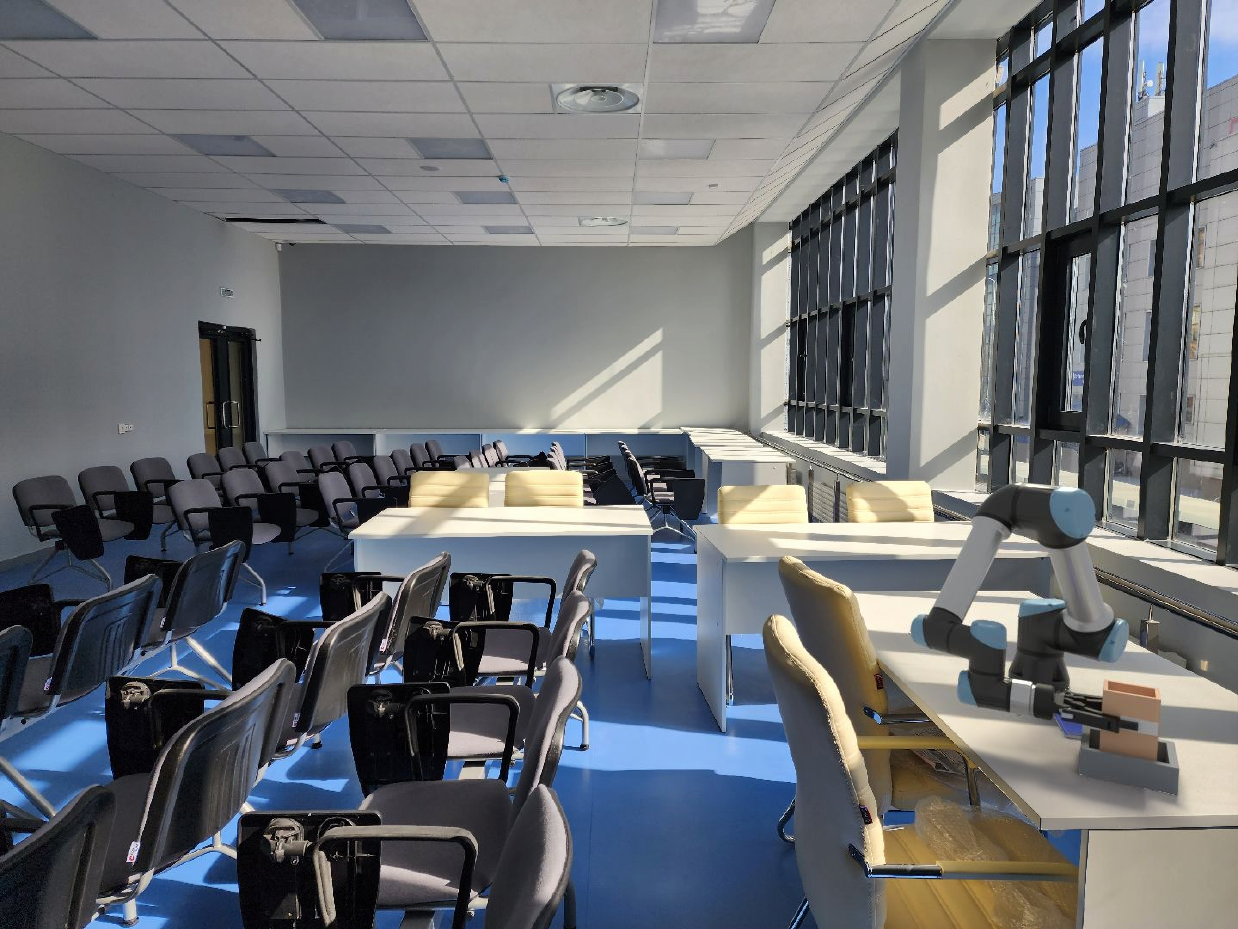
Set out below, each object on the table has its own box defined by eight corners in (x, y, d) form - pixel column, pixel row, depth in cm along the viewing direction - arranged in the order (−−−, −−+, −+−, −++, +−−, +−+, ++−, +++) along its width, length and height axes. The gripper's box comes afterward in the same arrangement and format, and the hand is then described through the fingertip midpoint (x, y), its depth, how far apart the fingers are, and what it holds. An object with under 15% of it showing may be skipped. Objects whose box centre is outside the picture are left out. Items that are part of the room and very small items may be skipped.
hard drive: (1105, 738, 186) (1091, 718, 198) (1065, 732, 189) (1054, 713, 201) (1105, 744, 187) (1091, 724, 198) (1065, 739, 189) (1053, 720, 201)
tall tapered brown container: (1099, 742, 178) (1103, 679, 177) (1154, 753, 172) (1159, 688, 171) (1099, 755, 171) (1103, 690, 170) (1156, 767, 166) (1161, 700, 165)
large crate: (1081, 748, 183) (1082, 724, 182) (1172, 767, 174) (1174, 742, 174) (1078, 774, 170) (1080, 748, 169) (1177, 795, 161) (1179, 768, 161)
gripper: (1036, 702, 189) (1153, 723, 178) (1028, 732, 172) (1158, 758, 160) (1038, 670, 189) (1155, 689, 177) (1030, 697, 171) (1160, 721, 159)
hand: (1156, 722), depth 169 cm, fingers closed on tall tapered brown container, 8 cm apart
